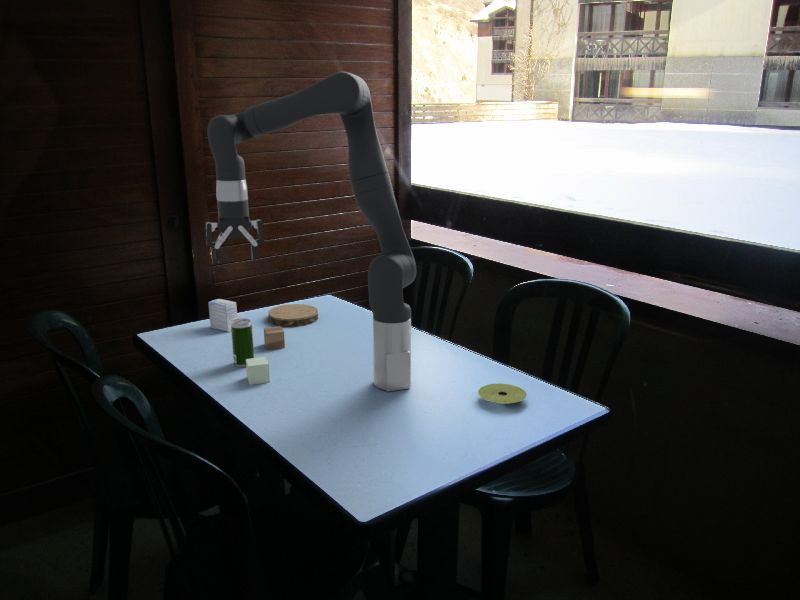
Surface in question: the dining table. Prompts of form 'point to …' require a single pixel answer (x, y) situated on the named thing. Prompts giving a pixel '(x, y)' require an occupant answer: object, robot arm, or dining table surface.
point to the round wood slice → (293, 315)
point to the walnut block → (274, 338)
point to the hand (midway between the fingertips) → (236, 261)
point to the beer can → (242, 341)
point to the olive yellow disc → (502, 393)
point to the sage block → (257, 370)
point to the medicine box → (222, 314)
